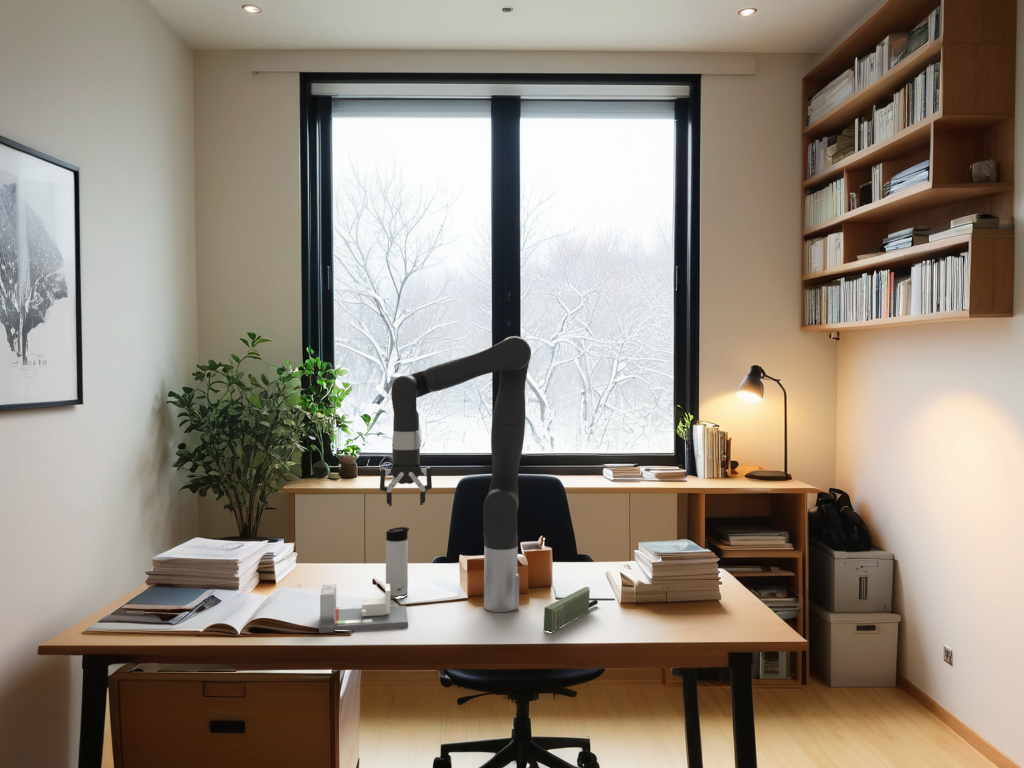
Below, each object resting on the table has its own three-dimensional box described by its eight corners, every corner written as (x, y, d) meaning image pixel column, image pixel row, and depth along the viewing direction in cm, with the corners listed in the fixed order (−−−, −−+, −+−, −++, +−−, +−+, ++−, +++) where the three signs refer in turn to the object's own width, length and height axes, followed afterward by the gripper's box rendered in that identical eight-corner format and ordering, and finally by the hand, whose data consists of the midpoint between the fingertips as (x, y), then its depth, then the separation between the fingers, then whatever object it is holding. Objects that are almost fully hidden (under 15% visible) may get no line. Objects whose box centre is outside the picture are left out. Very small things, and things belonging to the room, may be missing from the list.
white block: (389, 607, 188) (389, 583, 188) (390, 617, 181) (390, 592, 181) (362, 609, 187) (362, 584, 187) (361, 619, 180) (361, 594, 179)
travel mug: (404, 600, 199) (404, 530, 199) (382, 598, 201) (382, 529, 200) (411, 593, 206) (412, 525, 205) (390, 591, 207) (390, 524, 206)
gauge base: (406, 611, 191) (406, 604, 191) (407, 627, 179) (408, 620, 179) (322, 615, 187) (322, 609, 187) (319, 633, 175) (319, 626, 175)
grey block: (336, 610, 187) (336, 584, 187) (334, 621, 179) (334, 594, 179) (322, 611, 186) (322, 584, 186) (320, 622, 178) (320, 594, 178)
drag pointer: (338, 618, 180) (338, 607, 180) (338, 624, 176) (338, 612, 176) (335, 618, 180) (335, 607, 180) (334, 624, 176) (334, 612, 176)
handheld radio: (541, 631, 178) (590, 604, 198) (552, 635, 176) (600, 607, 196) (542, 606, 177) (591, 581, 197) (553, 609, 175) (601, 584, 195)
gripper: (430, 445, 199) (430, 501, 200) (379, 445, 197) (379, 503, 197) (432, 448, 192) (432, 507, 193) (380, 449, 189) (379, 508, 190)
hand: (405, 505), depth 195 cm, fingers open, 8 cm apart
